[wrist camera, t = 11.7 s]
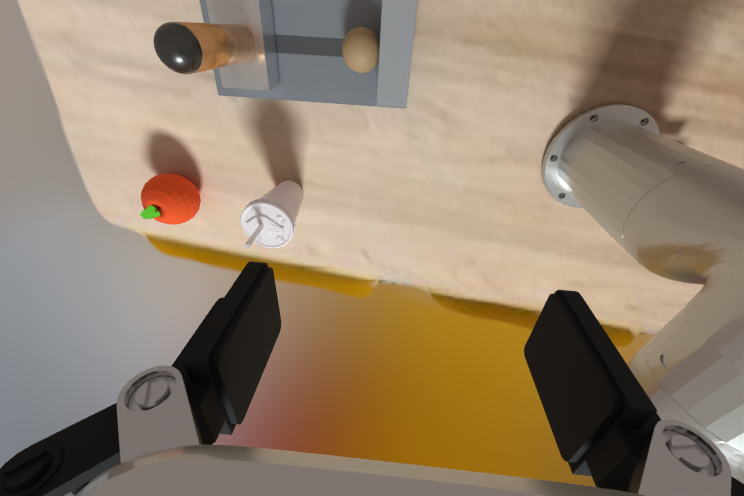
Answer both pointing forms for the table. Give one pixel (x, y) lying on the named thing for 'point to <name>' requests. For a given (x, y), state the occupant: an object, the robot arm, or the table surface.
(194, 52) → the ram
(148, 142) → the table surface
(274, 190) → the smoothie
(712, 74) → the table surface
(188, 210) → the clementine
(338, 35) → the frame
